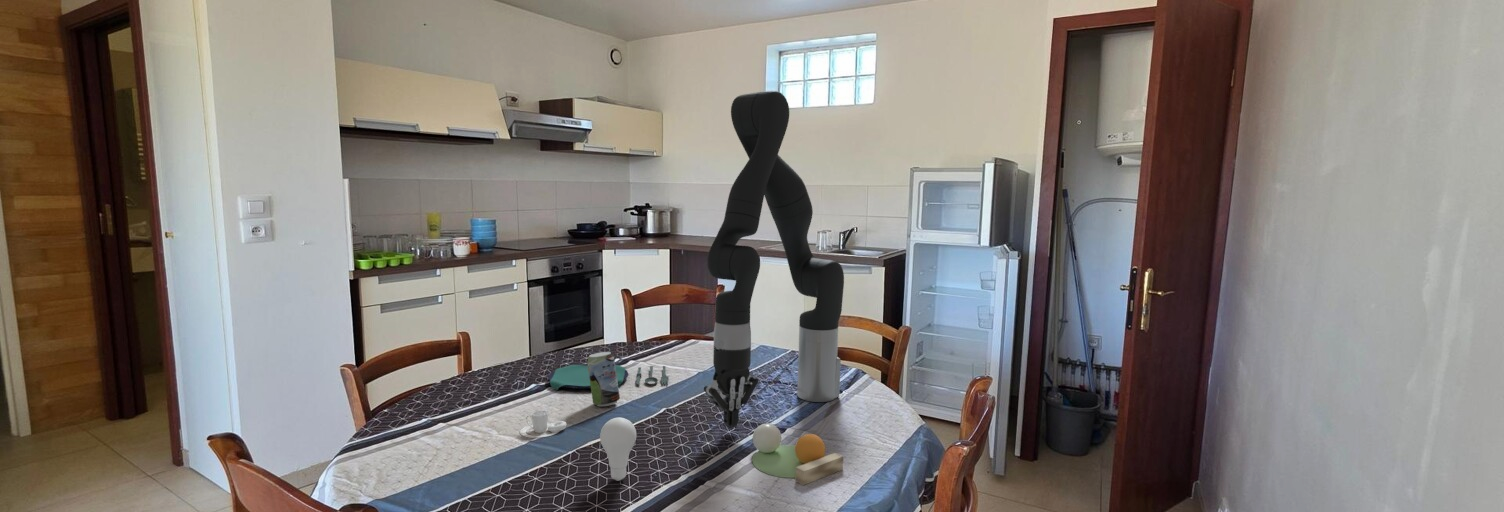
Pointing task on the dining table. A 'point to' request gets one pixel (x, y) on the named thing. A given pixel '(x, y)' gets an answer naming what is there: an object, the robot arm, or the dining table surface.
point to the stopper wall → (819, 468)
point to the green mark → (778, 462)
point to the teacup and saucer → (542, 425)
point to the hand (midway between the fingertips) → (730, 426)
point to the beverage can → (603, 379)
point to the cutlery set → (580, 379)
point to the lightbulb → (618, 444)
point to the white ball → (767, 438)
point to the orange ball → (809, 448)
